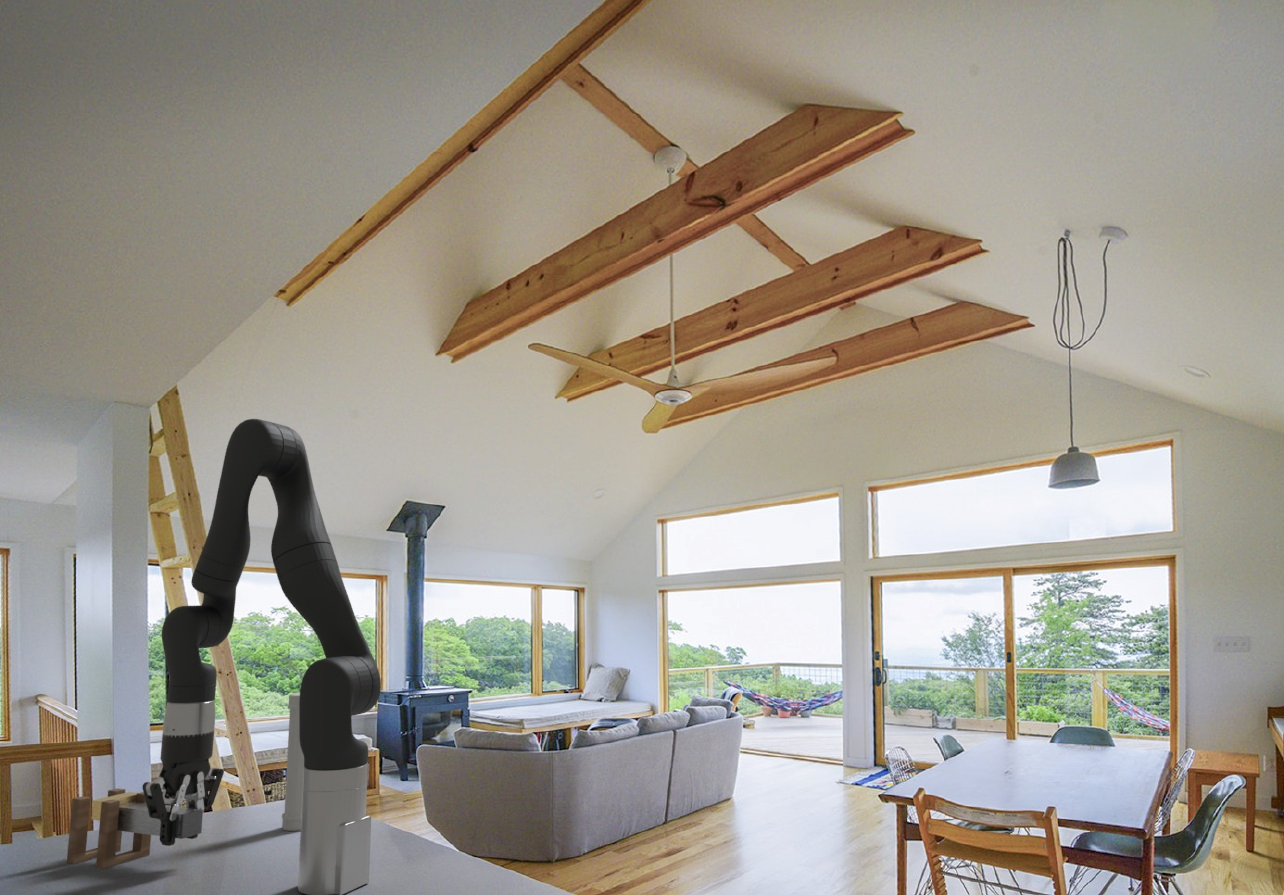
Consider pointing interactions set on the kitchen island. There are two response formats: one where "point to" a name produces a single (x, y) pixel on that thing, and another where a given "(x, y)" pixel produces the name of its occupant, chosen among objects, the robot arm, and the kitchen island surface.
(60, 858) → the kitchen island surface
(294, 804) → the pipe
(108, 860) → the brown wooden frame
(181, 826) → the shaft
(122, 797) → the spacer
